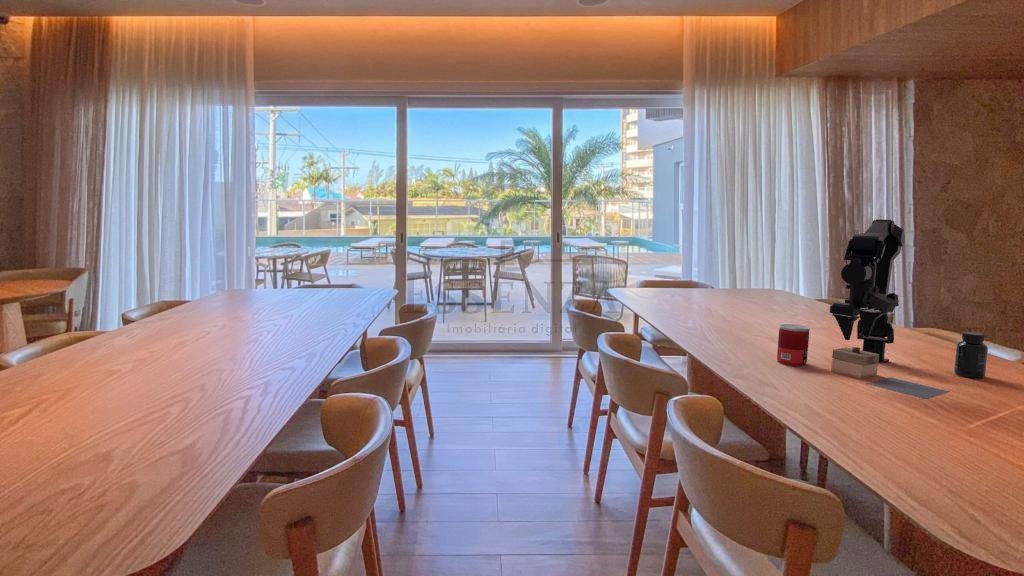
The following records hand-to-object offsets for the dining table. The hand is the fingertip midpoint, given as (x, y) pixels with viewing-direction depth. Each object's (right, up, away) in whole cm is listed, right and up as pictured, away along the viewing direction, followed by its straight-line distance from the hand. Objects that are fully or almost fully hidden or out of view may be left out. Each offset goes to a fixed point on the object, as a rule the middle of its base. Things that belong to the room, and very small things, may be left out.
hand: (856, 338), depth 158 cm
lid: (0, -6, +1) cm, 6 cm away
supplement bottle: (+32, -11, +2) cm, 34 cm away
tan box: (0, -10, +2) cm, 10 cm away
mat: (+6, -12, -11) cm, 17 cm away
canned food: (-11, -9, +13) cm, 20 cm away
